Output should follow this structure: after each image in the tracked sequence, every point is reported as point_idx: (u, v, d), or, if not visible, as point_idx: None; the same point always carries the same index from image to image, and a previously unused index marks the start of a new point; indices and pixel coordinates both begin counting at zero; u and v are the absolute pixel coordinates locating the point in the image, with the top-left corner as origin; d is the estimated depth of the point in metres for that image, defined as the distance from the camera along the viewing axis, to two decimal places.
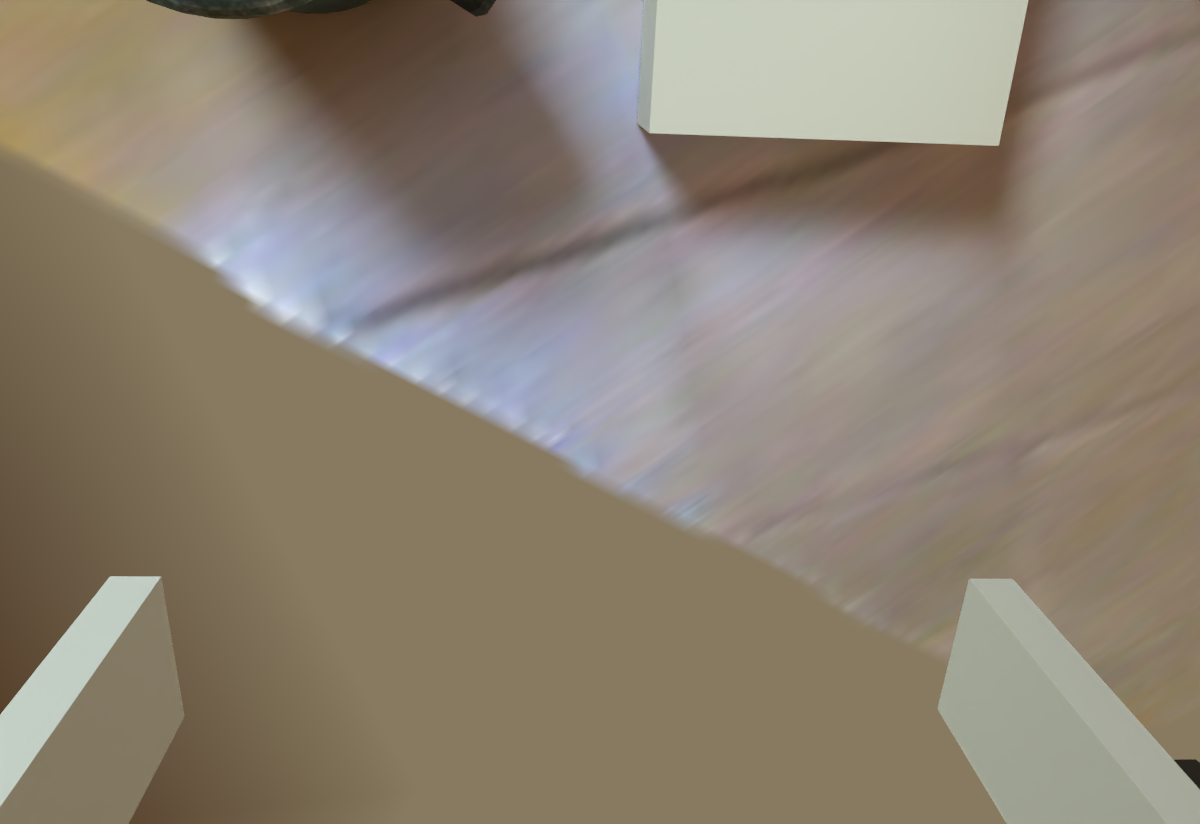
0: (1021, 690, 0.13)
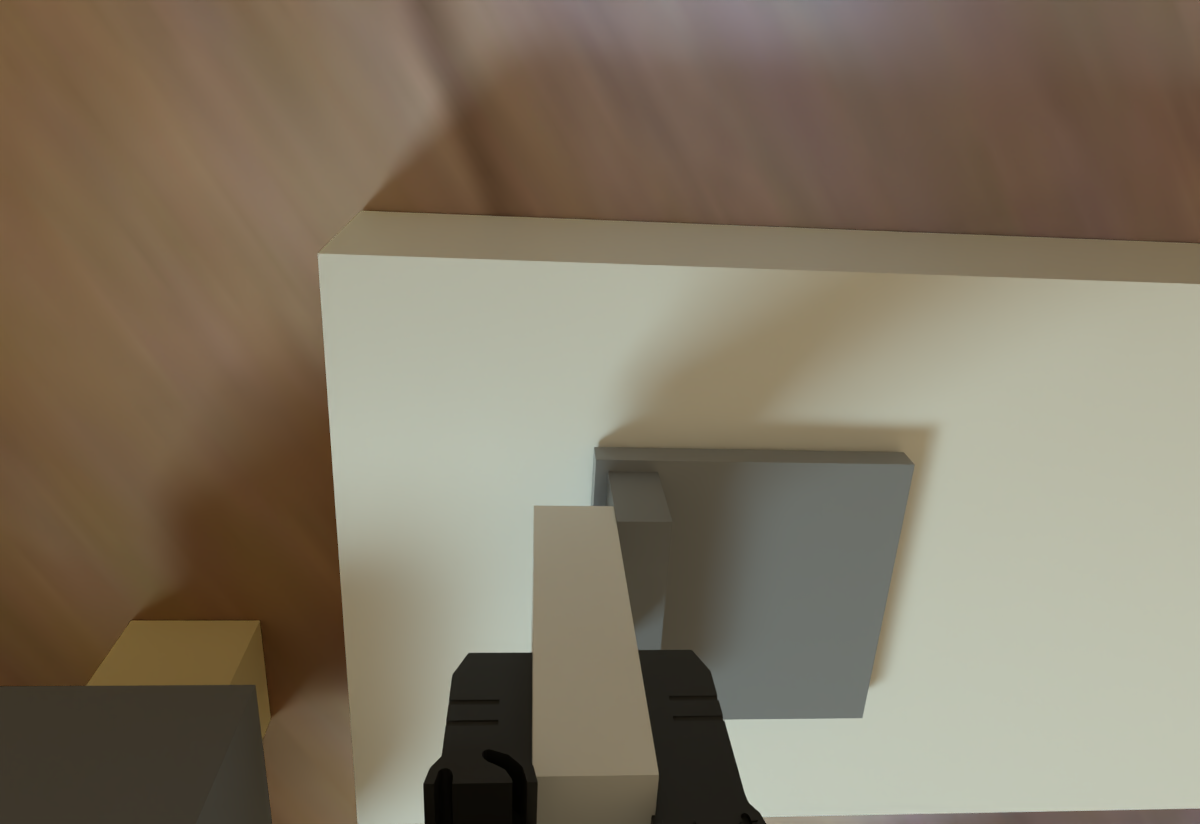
0: None
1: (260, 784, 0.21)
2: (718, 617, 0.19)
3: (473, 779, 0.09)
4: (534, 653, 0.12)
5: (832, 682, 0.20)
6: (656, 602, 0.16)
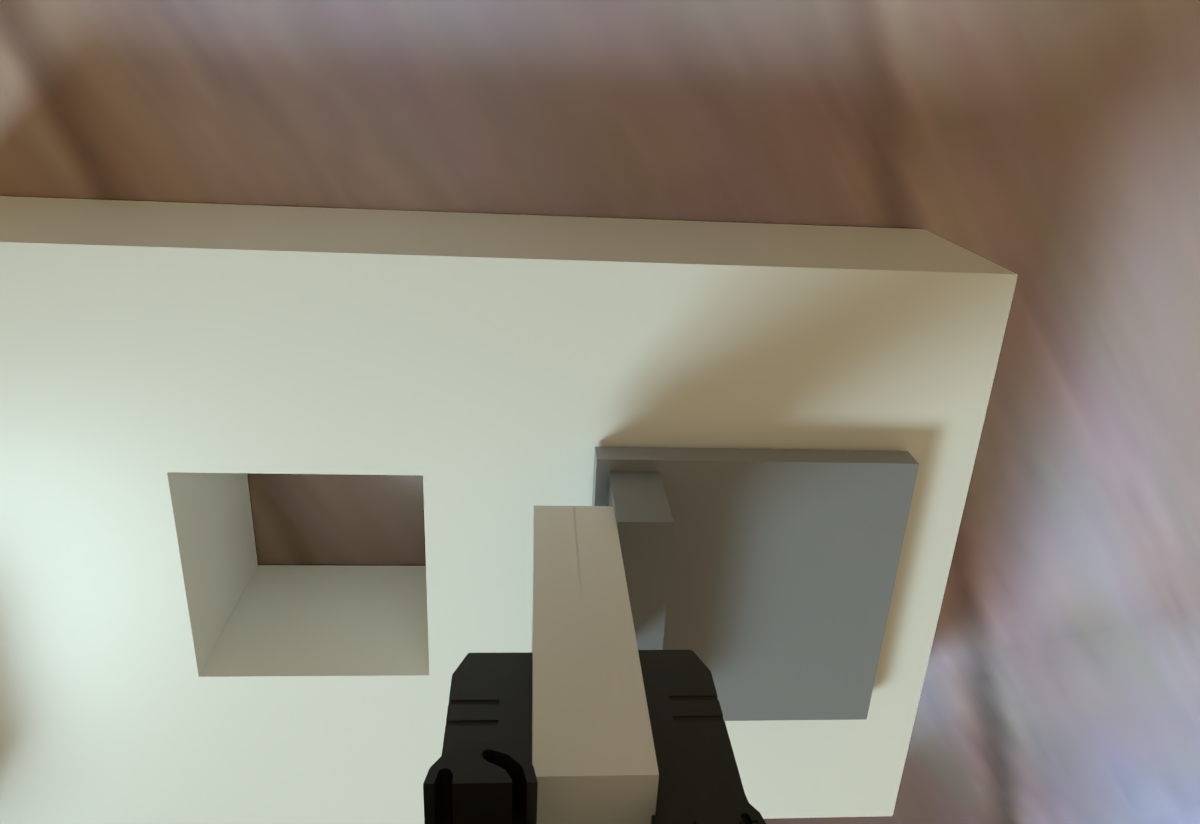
0: None
1: None
2: (721, 618, 0.19)
3: (473, 779, 0.09)
4: (534, 653, 0.12)
5: (836, 683, 0.20)
6: (657, 603, 0.16)
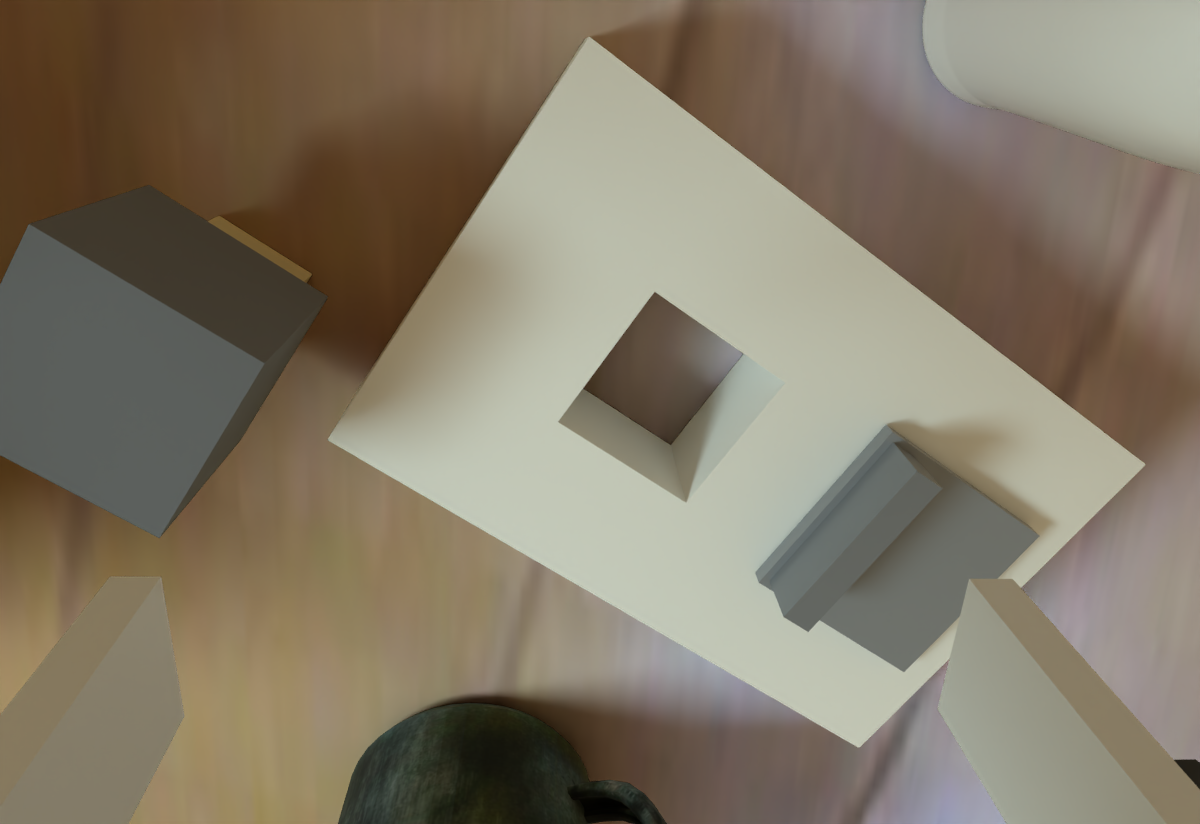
0: (1021, 690, 0.13)
1: (282, 370, 0.26)
2: (879, 563, 0.29)
3: None
4: None
5: (905, 640, 0.30)
6: (899, 528, 0.26)
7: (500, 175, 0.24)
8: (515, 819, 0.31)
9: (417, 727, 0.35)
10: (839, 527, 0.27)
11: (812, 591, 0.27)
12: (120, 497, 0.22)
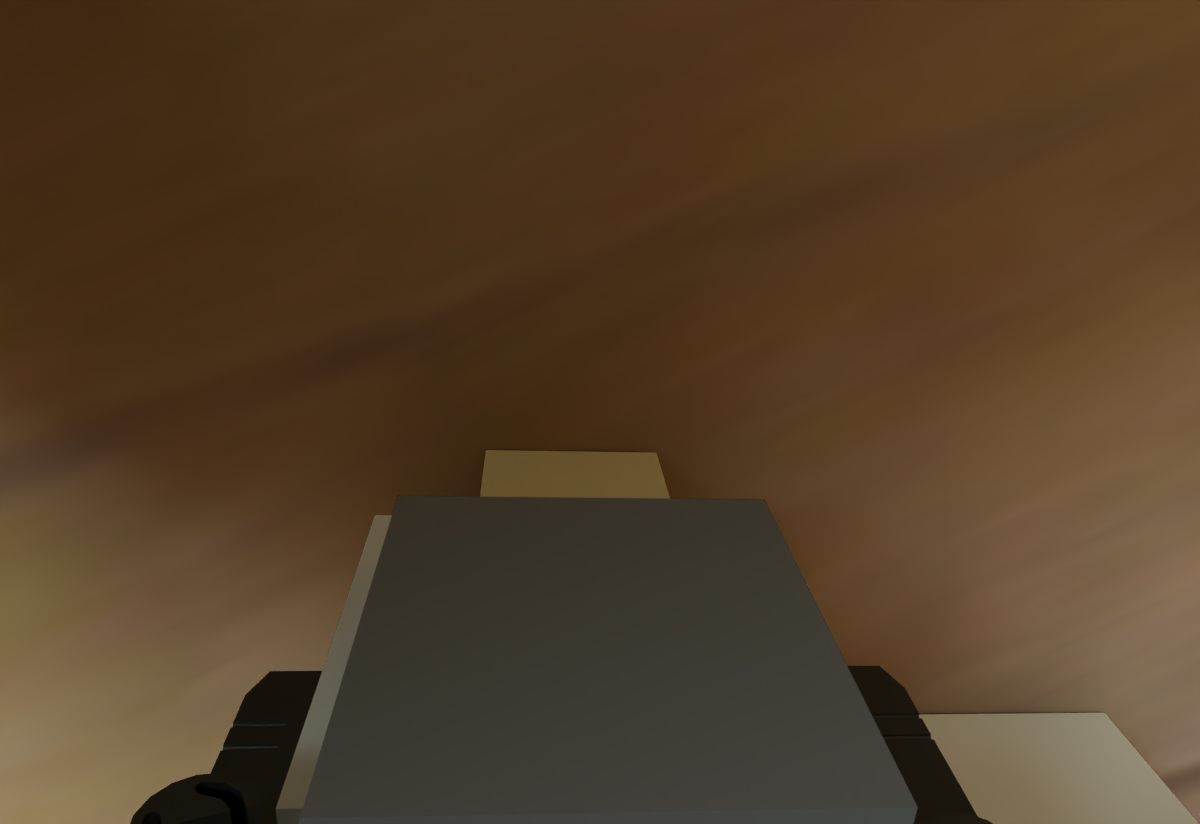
0: None
1: None
2: None
3: (186, 817, 0.09)
4: (322, 673, 0.12)
5: None
6: None
7: None
8: None
9: None
10: None
11: None
12: None
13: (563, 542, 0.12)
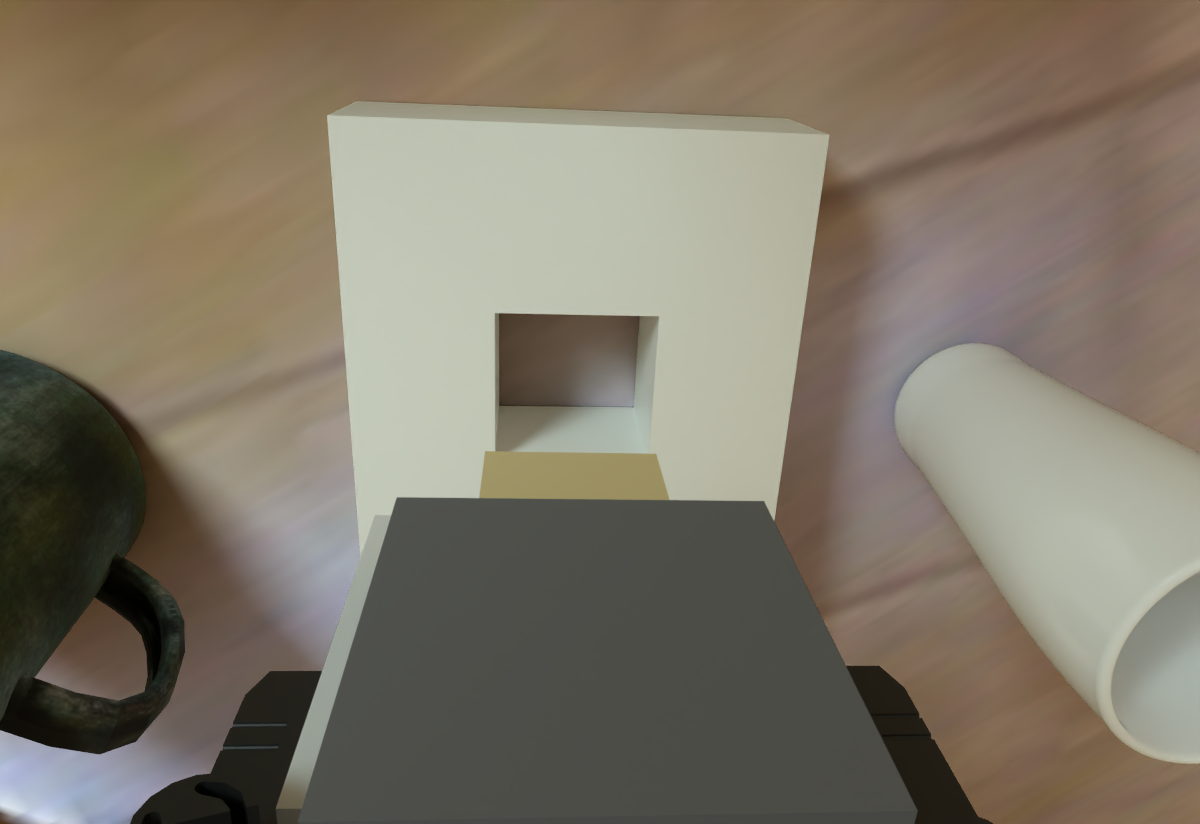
0: None
1: None
2: None
3: (186, 817, 0.09)
4: (322, 673, 0.12)
5: None
6: None
7: (679, 130, 0.25)
8: (67, 540, 0.27)
9: (40, 378, 0.30)
10: None
11: None
12: None
13: (563, 544, 0.12)
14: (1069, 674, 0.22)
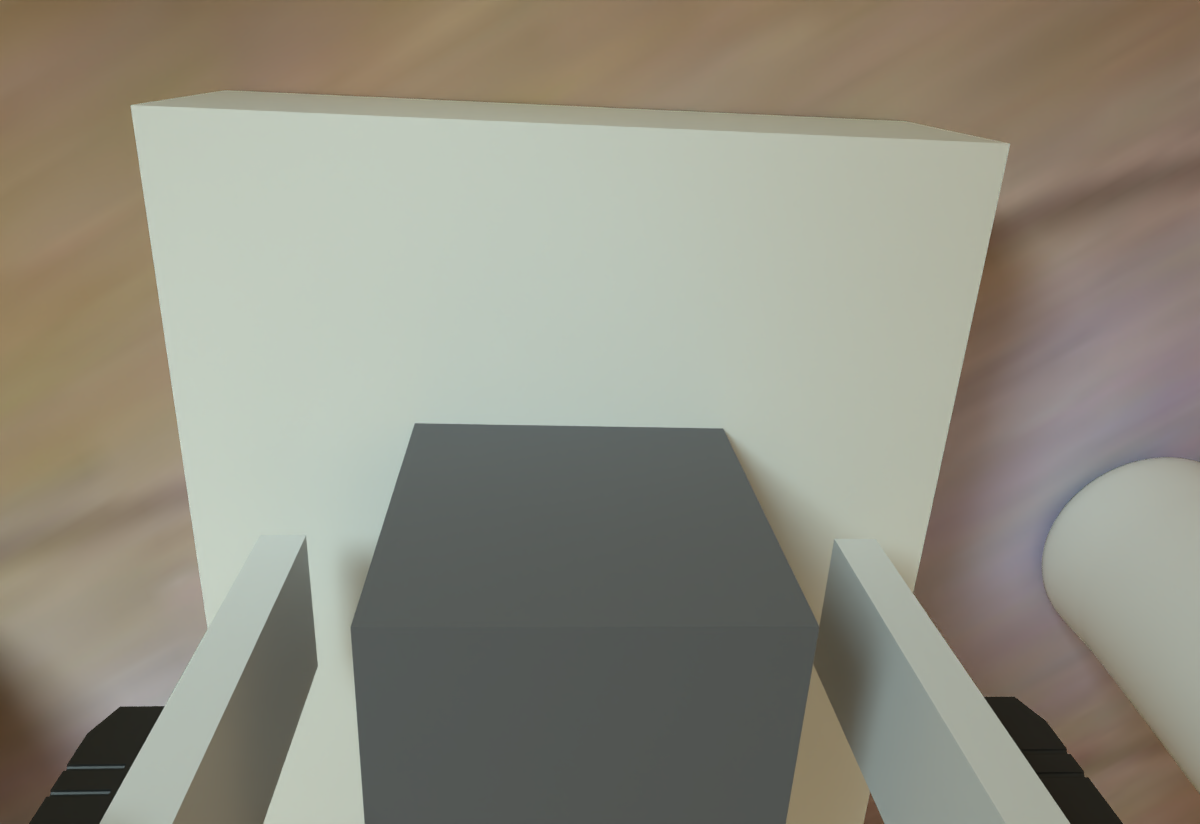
0: (867, 637, 0.14)
1: None
2: None
3: None
4: (162, 712, 0.11)
5: None
6: None
7: (753, 134, 0.14)
8: None
9: None
10: None
11: None
12: None
13: (552, 457, 0.15)
14: None
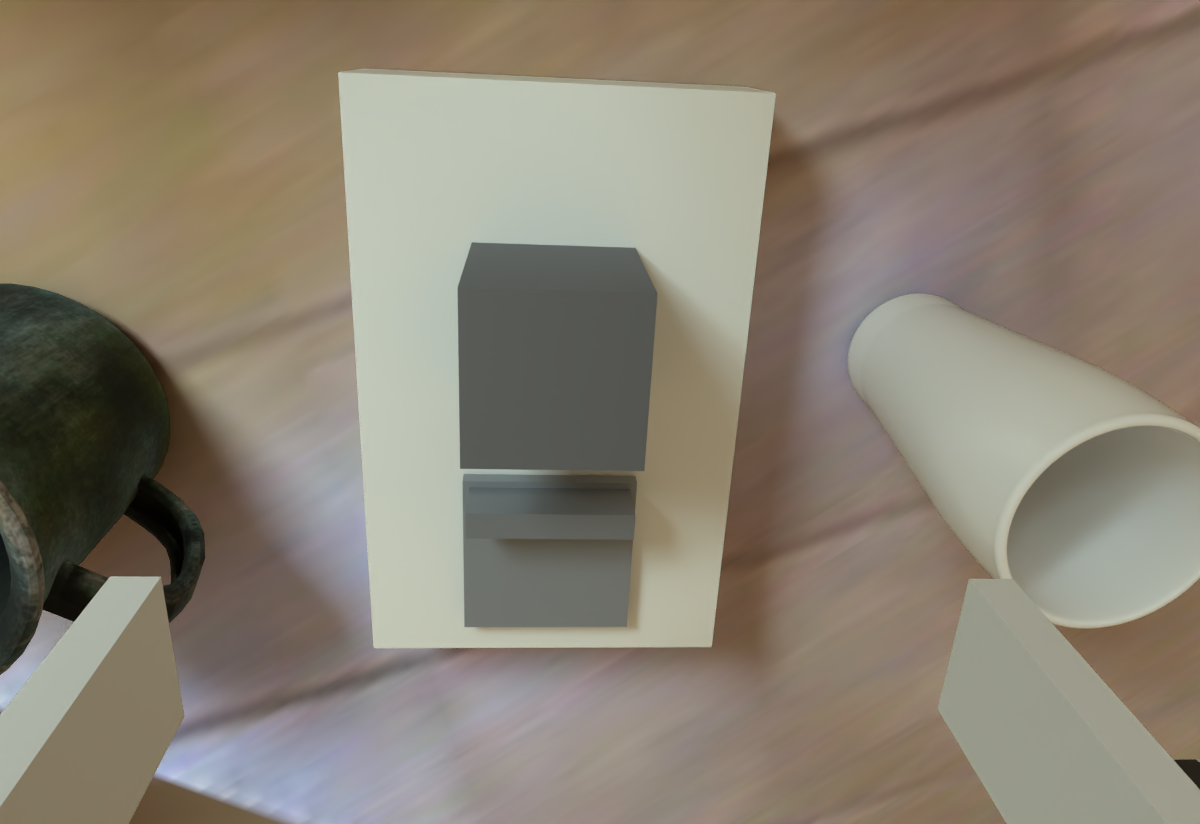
0: (1021, 690, 0.13)
1: None
2: (536, 547, 0.34)
3: None
4: None
5: (490, 608, 0.35)
6: (587, 535, 0.32)
7: (644, 88, 0.29)
8: (103, 450, 0.30)
9: (80, 314, 0.33)
10: (552, 500, 0.32)
11: (500, 517, 0.31)
12: (476, 430, 0.26)
13: (544, 253, 0.29)
14: (977, 551, 0.25)
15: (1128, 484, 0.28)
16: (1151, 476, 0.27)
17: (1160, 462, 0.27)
